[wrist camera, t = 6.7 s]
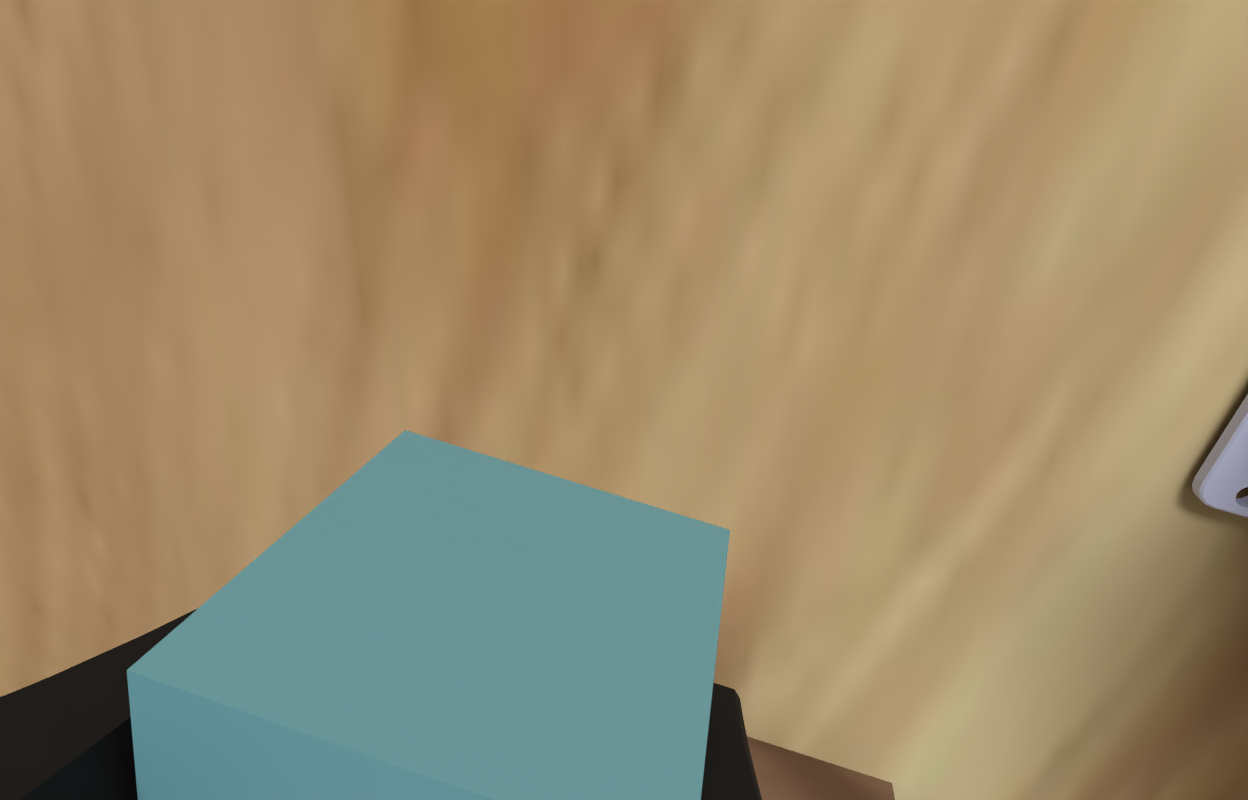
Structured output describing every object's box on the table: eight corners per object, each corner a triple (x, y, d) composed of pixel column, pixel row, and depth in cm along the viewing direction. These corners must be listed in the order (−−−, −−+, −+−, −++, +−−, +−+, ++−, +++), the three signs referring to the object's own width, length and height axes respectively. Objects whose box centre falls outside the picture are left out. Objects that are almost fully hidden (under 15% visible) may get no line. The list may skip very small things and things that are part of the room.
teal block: (729, 529, 10) (692, 869, 6) (647, 766, 12) (571, 1156, 8) (404, 430, 11) (126, 670, 6) (378, 674, 13) (154, 990, 8)
